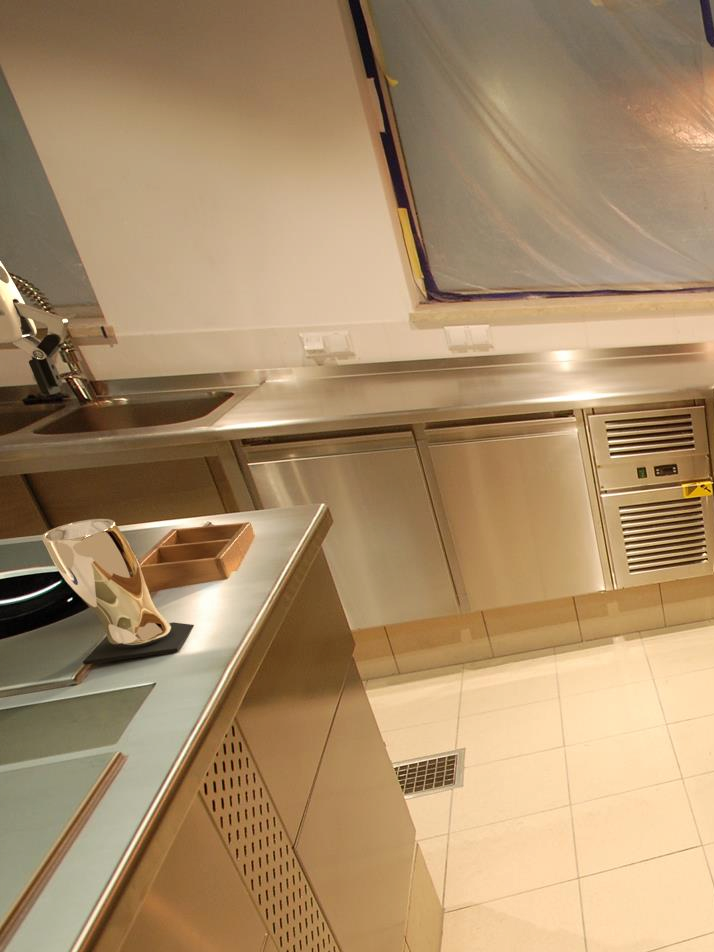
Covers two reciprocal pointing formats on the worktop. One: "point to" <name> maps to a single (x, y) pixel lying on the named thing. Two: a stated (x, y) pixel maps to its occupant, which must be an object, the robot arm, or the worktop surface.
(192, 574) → the wooden divided tray
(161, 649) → the mat
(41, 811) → the worktop surface
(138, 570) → the beer glass
